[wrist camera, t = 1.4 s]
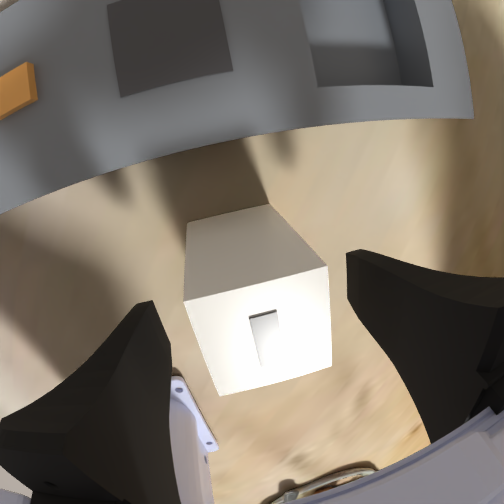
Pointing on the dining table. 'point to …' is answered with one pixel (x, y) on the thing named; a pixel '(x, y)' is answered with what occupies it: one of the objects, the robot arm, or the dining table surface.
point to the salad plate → (321, 484)
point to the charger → (256, 299)
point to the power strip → (208, 77)
